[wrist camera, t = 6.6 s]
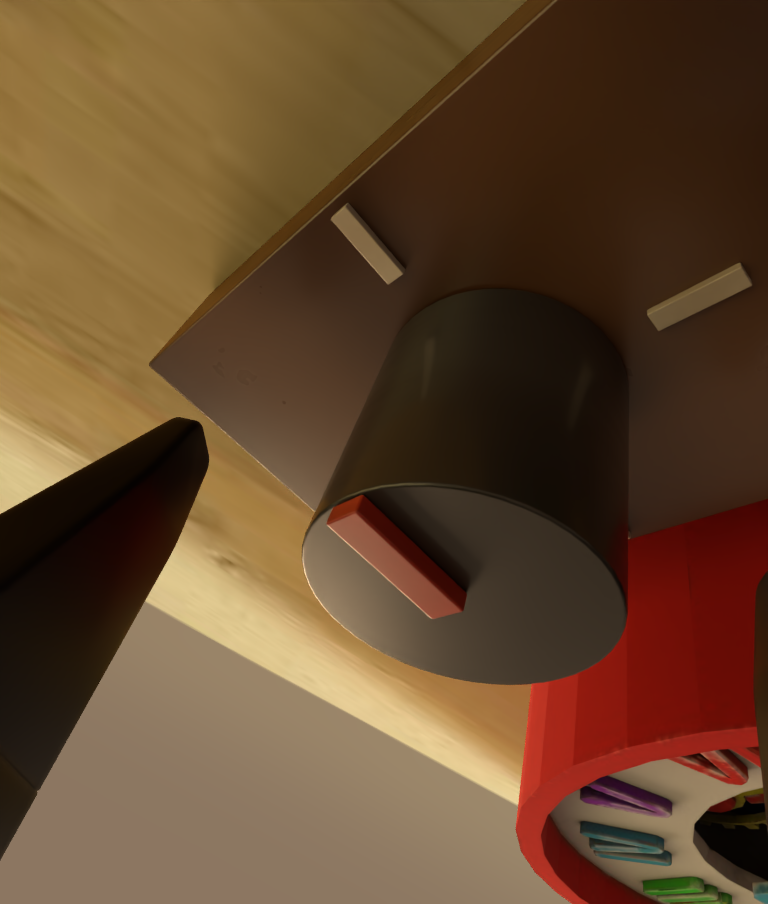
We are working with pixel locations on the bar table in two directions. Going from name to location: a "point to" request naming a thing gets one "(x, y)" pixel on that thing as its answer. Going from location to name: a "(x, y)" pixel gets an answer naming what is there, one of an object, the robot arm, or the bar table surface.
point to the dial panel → (533, 246)
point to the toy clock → (659, 735)
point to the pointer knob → (484, 495)
